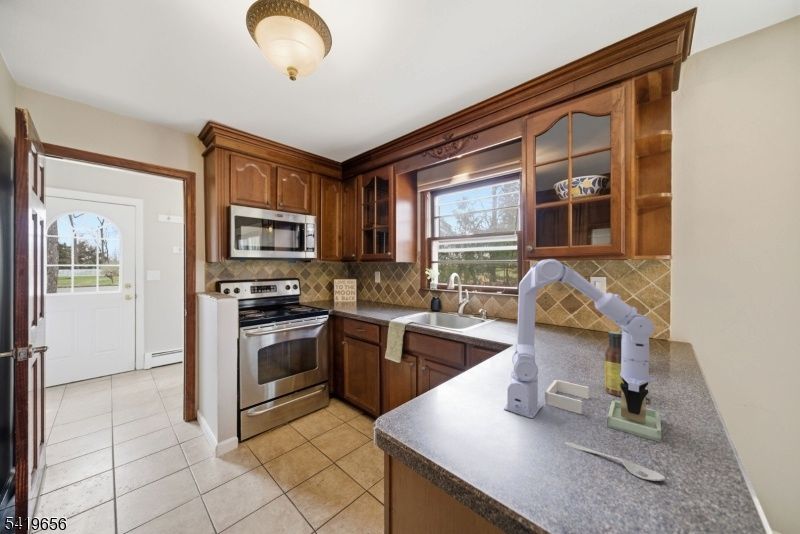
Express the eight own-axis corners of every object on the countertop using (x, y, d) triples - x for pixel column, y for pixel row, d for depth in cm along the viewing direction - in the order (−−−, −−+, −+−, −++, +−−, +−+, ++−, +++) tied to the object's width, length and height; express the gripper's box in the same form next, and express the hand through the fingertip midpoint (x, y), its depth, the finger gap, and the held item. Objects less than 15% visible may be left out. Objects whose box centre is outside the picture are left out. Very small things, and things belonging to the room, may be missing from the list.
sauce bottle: (632, 398, 92) (633, 335, 92) (610, 396, 93) (611, 334, 93) (621, 389, 98) (622, 331, 98) (600, 388, 100) (601, 330, 100)
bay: (581, 414, 82) (581, 401, 82) (544, 403, 88) (544, 392, 88) (588, 398, 92) (588, 387, 92) (555, 389, 98) (555, 379, 98)
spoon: (664, 491, 55) (664, 483, 55) (548, 441, 70) (548, 434, 70) (666, 480, 57) (666, 472, 57) (554, 435, 73) (554, 428, 73)
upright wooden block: (650, 424, 73) (650, 400, 73) (620, 416, 77) (621, 393, 77) (650, 417, 77) (650, 394, 77) (622, 410, 81) (622, 388, 81)
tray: (661, 442, 69) (661, 432, 69) (607, 426, 76) (607, 417, 76) (659, 420, 79) (659, 411, 79) (611, 408, 86) (612, 399, 86)
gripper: (655, 369, 69) (654, 426, 69) (654, 355, 80) (653, 404, 80) (618, 362, 74) (617, 416, 74) (621, 350, 85) (621, 396, 85)
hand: (634, 409), depth 77 cm, fingers closed on upright wooden block, 4 cm apart
